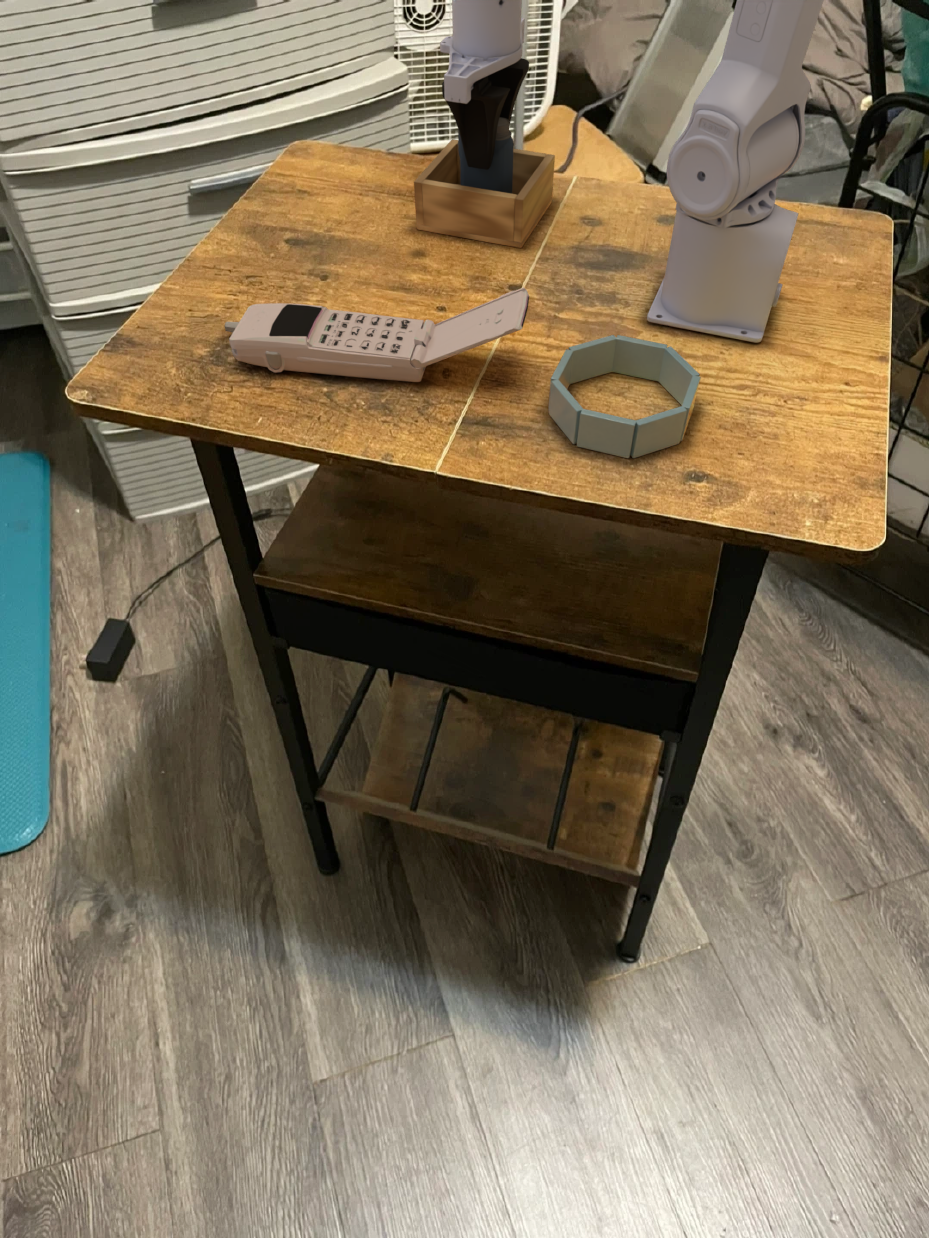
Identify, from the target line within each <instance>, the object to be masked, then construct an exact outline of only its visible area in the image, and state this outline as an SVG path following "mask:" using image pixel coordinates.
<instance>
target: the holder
mask: <svg viewBox="0 0 929 1238" xmlns="http://www.w3.org/2000/svg"><path fill="white" fill-rule="evenodd" d="M555 162H556V155H555V154H551V153H547V152H538V151H533V150H525V149H519V148H514V149H513V183H512V194H510V193H504V192H498V191H492V190H486V189H480V188H474V187H468V186H462V185H461V179H460V157H459V150H458V139H453V138H452V139H451V140H450V141H449V142H448V143H447V144H446V145H445V146H444V147H443V149H442V150H441V151H440V152H439V153H438V154H437V155H436V156H435V157H434V159H433V160H432V161H431V162H430V163H429V164H428V166H427V167H425V168H424V170H423V171H421V173H420V174H419V175H418V177H417V178H416V179H415V180H413V191H414V207H415V224H416V225H415V227H416V230H419V231H424V232H430V233H435V234H441V235H447V236H451V237H458V238H464V239H468V240H474V241H480V242H485V243H491V244H496V245H502V246H507V247H513V248H519V249H522V248H523V246H524V245H525V243H526V242H527V240H528V239H529V238H530V236H531V234H532V233H533V231H534V230H535V229H536V226H538V224H539V222H540V221H541V219H542V218H543V216H545V215H544V214H545V213H546V211H548V208H549V207H550V206H551V204H552V203H553V192H554V191H553V190H554V177H555V176H554V175H555Z"/></svg>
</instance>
